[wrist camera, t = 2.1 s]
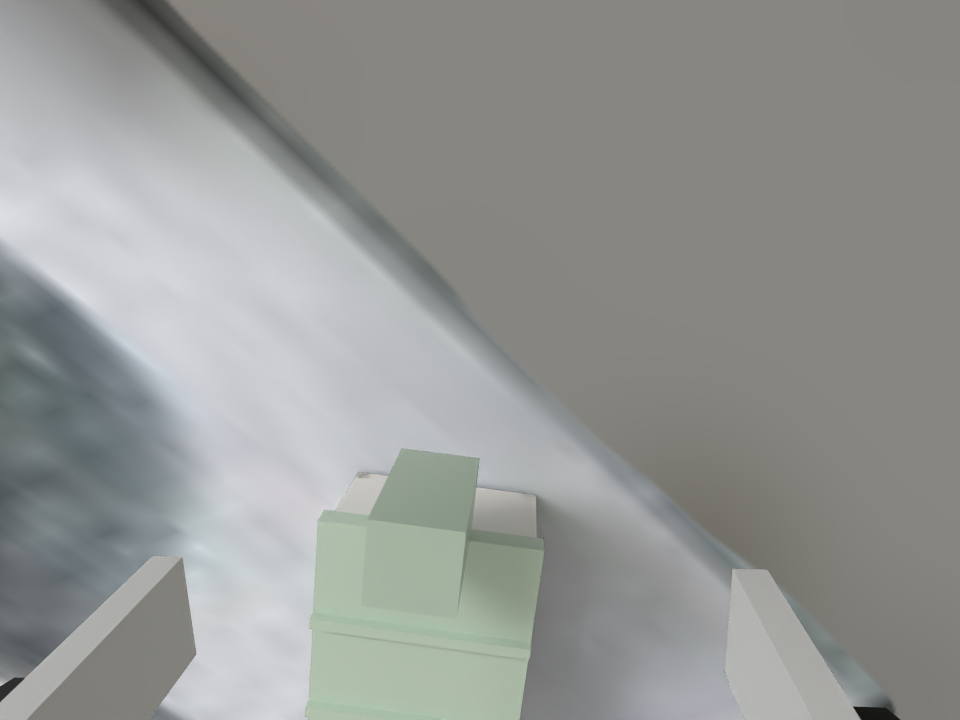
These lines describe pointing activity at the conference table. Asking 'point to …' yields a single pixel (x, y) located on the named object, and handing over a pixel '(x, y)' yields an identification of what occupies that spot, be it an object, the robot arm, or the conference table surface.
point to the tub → (489, 509)
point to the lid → (421, 603)
